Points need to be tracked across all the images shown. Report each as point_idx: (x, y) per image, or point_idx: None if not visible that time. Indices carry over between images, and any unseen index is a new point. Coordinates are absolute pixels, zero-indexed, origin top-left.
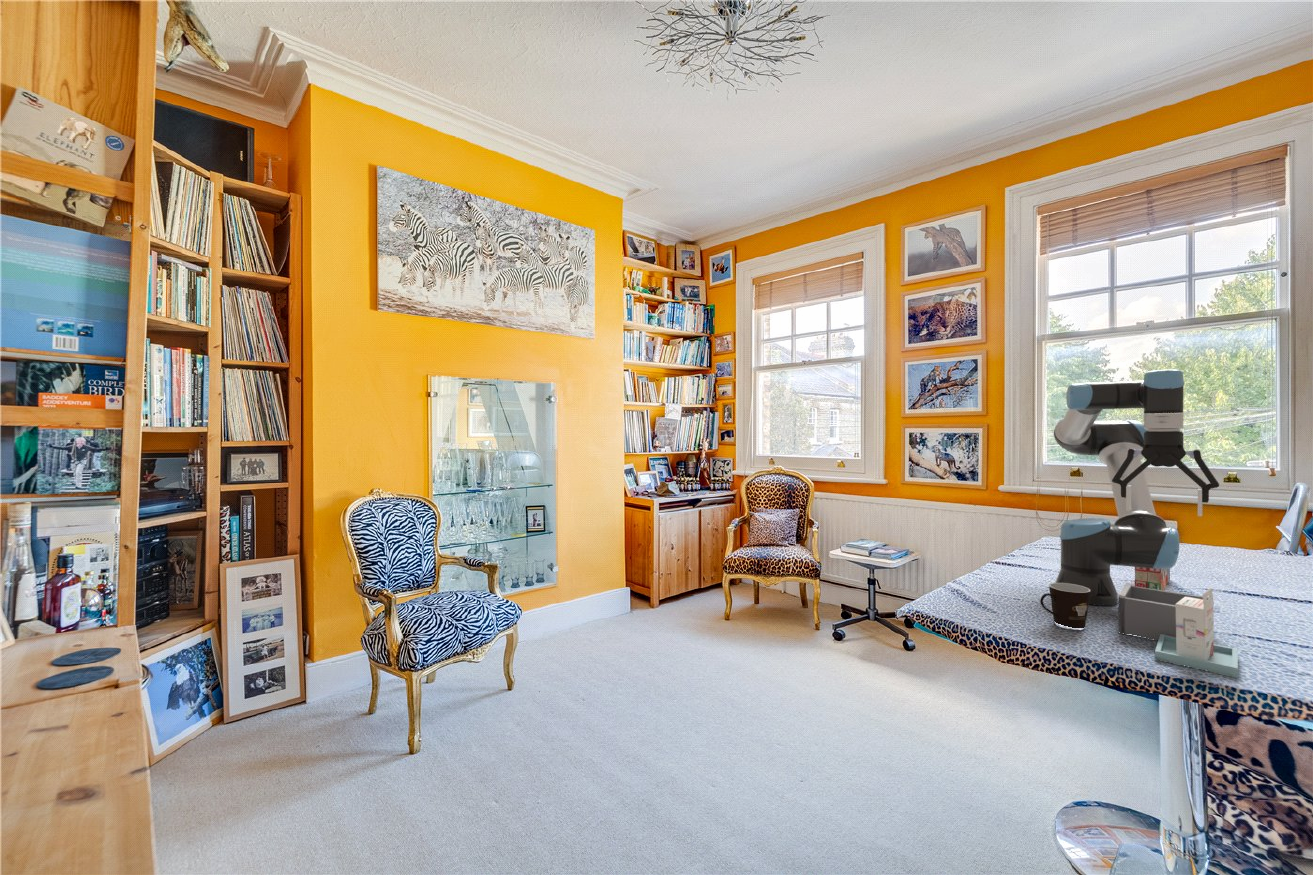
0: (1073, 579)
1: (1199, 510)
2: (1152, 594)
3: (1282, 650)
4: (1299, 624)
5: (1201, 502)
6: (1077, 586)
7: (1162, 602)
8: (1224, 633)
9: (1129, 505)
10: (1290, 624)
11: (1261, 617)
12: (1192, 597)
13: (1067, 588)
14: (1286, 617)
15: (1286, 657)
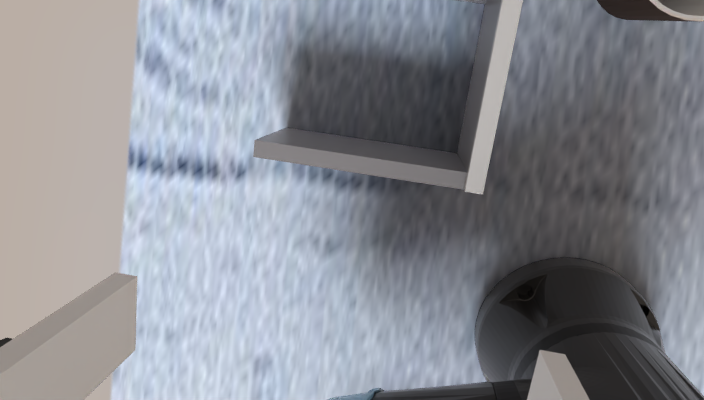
0: (626, 312)
1: (101, 293)
2: (407, 160)
3: (164, 92)
4: None
5: (41, 323)
6: (670, 11)
7: (382, 153)
8: (259, 167)
9: (555, 375)
10: None
11: (179, 363)
12: (303, 147)
13: (699, 14)
14: (136, 390)
15: (162, 35)
